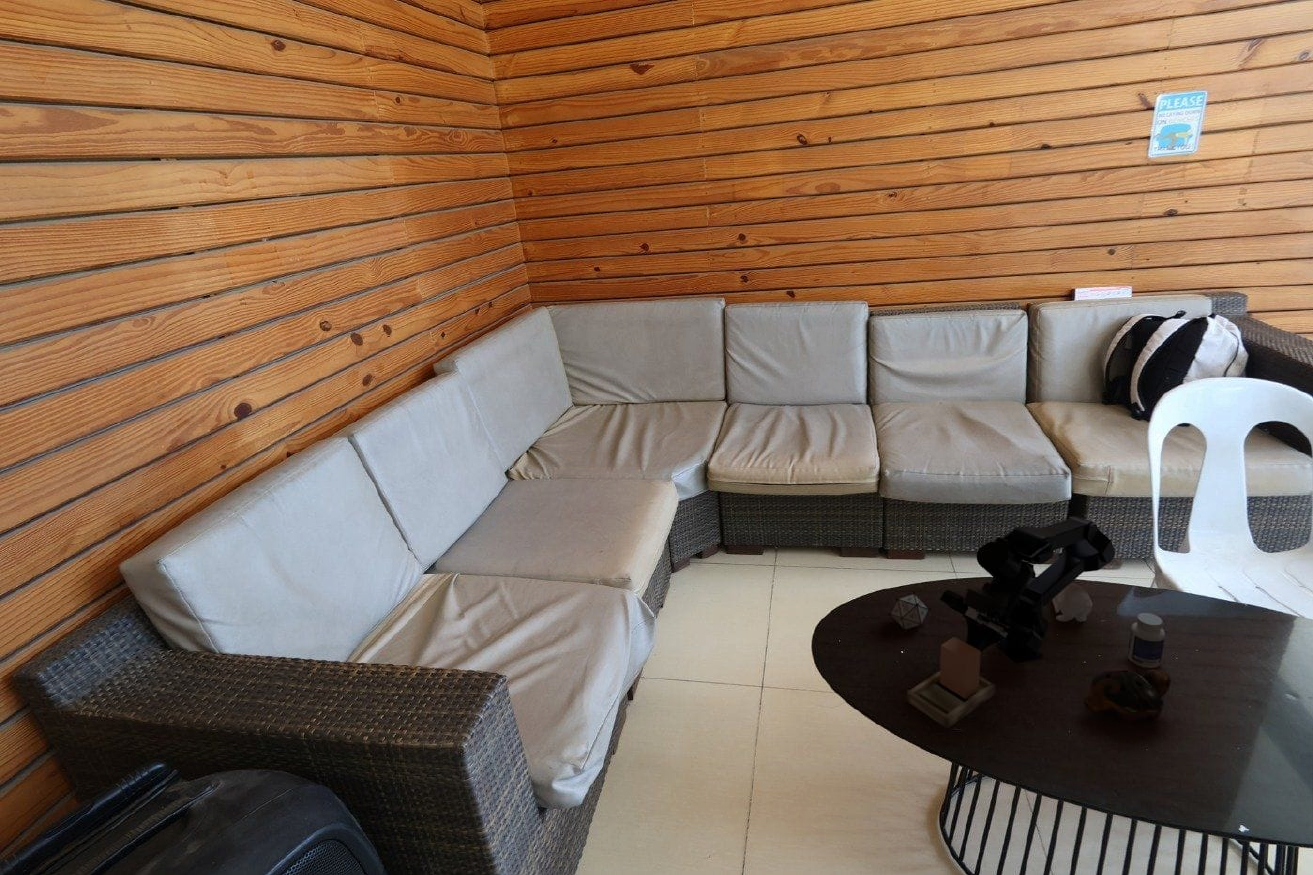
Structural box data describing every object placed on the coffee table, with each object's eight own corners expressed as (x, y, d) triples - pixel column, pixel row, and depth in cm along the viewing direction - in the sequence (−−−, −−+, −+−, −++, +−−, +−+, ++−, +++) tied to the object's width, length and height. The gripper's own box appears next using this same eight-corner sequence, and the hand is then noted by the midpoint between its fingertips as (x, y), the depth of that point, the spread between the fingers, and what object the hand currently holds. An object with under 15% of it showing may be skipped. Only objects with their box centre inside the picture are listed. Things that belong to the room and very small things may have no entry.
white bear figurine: (1062, 592, 143) (1043, 567, 154) (1060, 628, 145) (1041, 600, 156) (1095, 592, 141) (1073, 567, 153) (1093, 628, 143) (1071, 601, 155)
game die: (917, 643, 152) (936, 629, 143) (880, 631, 152) (897, 616, 144) (920, 607, 157) (939, 591, 148) (884, 596, 157) (901, 579, 149)
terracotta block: (953, 674, 134) (954, 636, 131) (978, 689, 129) (980, 650, 126) (939, 683, 132) (941, 645, 129) (965, 698, 128) (967, 659, 124)
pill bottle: (1167, 667, 131) (1174, 625, 128) (1138, 670, 131) (1145, 628, 128) (1148, 650, 136) (1154, 609, 133) (1121, 652, 136) (1126, 611, 133)
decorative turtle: (1185, 720, 119) (1192, 685, 116) (1108, 743, 117) (1112, 709, 114) (1140, 681, 128) (1145, 649, 125) (1067, 702, 126) (1070, 670, 123)
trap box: (953, 670, 137) (954, 661, 136) (994, 694, 130) (995, 685, 129) (906, 701, 131) (907, 692, 130) (947, 728, 123) (947, 719, 123)
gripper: (946, 554, 134) (908, 622, 133) (1037, 594, 119) (995, 671, 118) (969, 574, 141) (933, 639, 139) (1059, 614, 125) (1019, 688, 124)
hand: (967, 657), depth 130 cm, fingers closed, pressing on terracotta block
